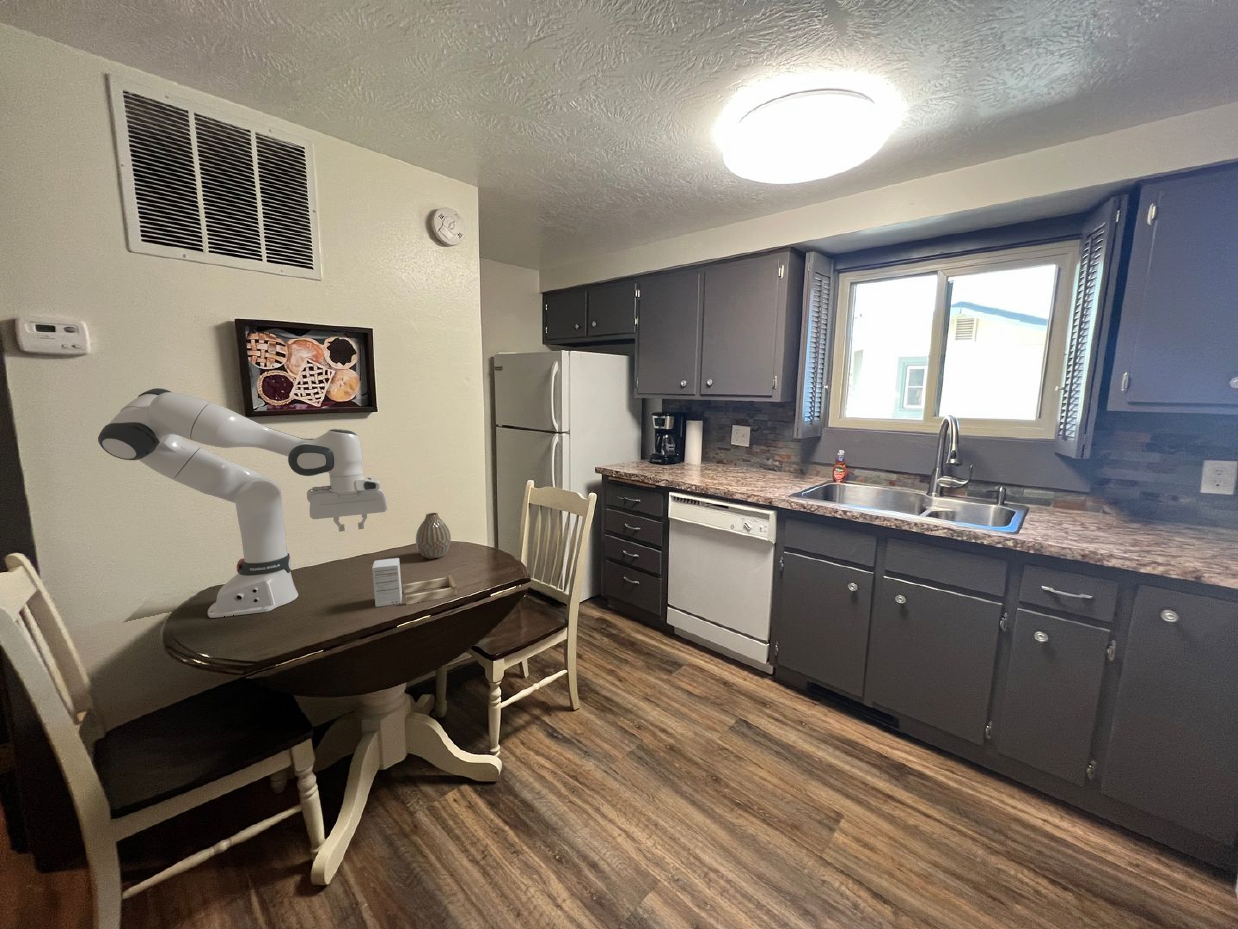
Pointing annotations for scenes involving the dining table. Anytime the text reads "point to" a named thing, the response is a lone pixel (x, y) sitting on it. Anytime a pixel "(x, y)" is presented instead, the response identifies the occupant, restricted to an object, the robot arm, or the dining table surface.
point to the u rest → (431, 594)
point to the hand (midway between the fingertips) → (351, 529)
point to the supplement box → (387, 582)
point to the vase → (433, 537)
